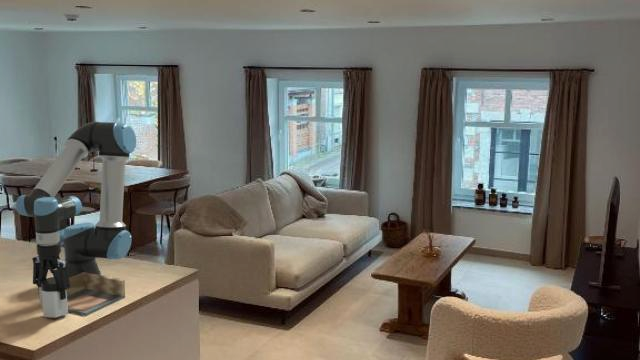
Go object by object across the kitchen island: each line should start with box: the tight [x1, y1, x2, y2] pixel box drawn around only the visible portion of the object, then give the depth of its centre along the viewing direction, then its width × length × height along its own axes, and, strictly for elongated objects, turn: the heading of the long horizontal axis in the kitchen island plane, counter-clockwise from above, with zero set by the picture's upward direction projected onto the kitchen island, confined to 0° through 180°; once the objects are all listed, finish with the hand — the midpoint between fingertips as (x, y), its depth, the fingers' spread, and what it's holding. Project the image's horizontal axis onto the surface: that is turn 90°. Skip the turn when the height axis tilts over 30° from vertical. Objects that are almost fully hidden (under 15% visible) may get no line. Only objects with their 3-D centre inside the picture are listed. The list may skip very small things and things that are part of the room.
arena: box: [67, 272, 126, 317], centre depth 234 cm, size 20×20×7 cm
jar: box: [41, 276, 69, 318], centre depth 220 cm, size 9×8×12 cm
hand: (52, 305), depth 221 cm, fingers closed on jar, 7 cm apart
